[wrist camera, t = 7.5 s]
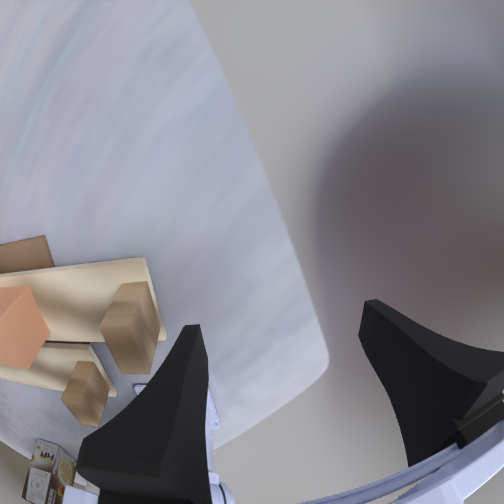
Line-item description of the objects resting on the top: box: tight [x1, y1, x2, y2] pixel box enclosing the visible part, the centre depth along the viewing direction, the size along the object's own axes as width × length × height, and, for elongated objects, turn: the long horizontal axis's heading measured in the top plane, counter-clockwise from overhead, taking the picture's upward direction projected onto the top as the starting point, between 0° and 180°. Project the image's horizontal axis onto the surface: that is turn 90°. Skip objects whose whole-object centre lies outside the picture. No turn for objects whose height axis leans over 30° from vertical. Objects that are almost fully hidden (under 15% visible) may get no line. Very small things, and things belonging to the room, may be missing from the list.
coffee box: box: [22, 439, 77, 504], centre depth 27 cm, size 9×6×16 cm
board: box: [0, 235, 88, 344], centre depth 20 cm, size 18×22×1 cm
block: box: [0, 285, 51, 370], centre depth 16 cm, size 5×5×5 cm
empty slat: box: [0, 342, 117, 427], centre depth 19 cm, size 7×20×6 cm, turn 94°
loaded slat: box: [0, 257, 167, 374], centre depth 17 cm, size 7×20×6 cm, turn 94°
